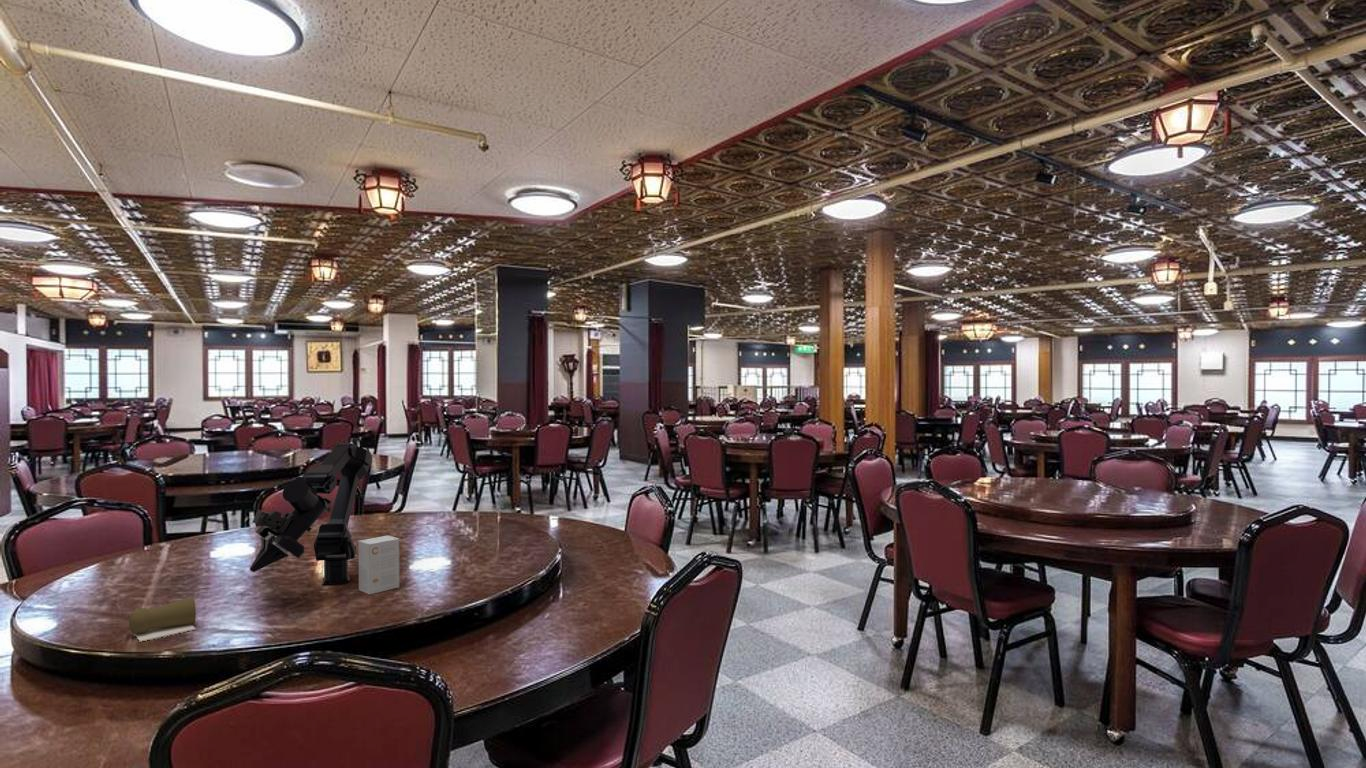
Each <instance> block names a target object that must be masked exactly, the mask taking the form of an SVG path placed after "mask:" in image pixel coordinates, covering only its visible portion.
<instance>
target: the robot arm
mask: <svg viewBox="0 0 1366 768" xmlns="http://www.w3.org/2000/svg"><path fill="white" fill-rule="evenodd" d="M372 463H373V455H372V453H371V452H370V451H369V450H368V449H367V448H363V447H360V446H357V445H356V444H355V443H350V442H341V443H340V442H339V443H336V444H334V445H333V449H332V451H330V453H329V454H328V455H327V456H326V457H325V458H324V460H323V461H322V462H321V463H320V464H319V465H318V466H315V467H312V468H309V469H308V470H306V471H305V472H304V473H302V476H296V477H295V480H293V481H292V482H290V483H288V484H287V485H286V486H285V488H284V489H283V490H282V498H283V499H284V500H285V501H286V502H287V503H288V504H289V505H290V506H291V507H292V508H293V509H292V511H290V512H285V513H283V514H282V512H279V511H275V510H271V511H270V512H268V511H265V510H261V509H257V512H256V514H255V516H254V518H253V520H252V524H255V525H258V526H260V527H258V529H256V531H255V533H257V535H259V536H260V542H261V543H260V544H261V546H260V547H261V548H260V550H259V552H258V553H257V555H256V557H255V558H254V560H253V562H252V564H251V566H250V567H249V570H250V572H252V573H255V572H257V571H259V570H261V569H263V568H265V567H268V566H270V565H271V564H274V563H276V562H278V561H279V560H283V559H284V558H288V557H290V556H289V554H288V553H290V554H291V555H292V556H293V557H295V558H297V559H300V558H301V556H302V555H304V553H305V545H303V544H302V543H300V542H299V541H298V540H299V539H300V538H301V537H302V536H303V535H304V534H305V533H306V532H307V533H310V531H311V530H313V529H312V526H313V524H314V523H315V522H316V521H317V520H318V519H319V518H320V517H321V516H322V515H323V514H324V512H325V511H326V512H327V513H330V517H329V520H328V522H327V523H322V524H320V526H319V527H318V528H319V529H318V531H317V535H316V537H315V539H314V542H313V550H314V555H315V560H316V562H319V561H323V577H322V579H321V580H322V582H321V583H322V584H321V585H322V586H328V585H337V584H344V583H349V582H350V574H349V573H348V571H349V569H348V568H349V564H348V562H349V561H350V560H353V559H356V554H357V552H356V551H357V548H356V545H355V544H354V542H353V540H352V533H351V531H350V528H349V527H348V526H349V522H350V518H351V514H352V510H353V507H354V502H355V497H356V494H357V490H358V488H359V483H360V480H361V479H362V478H363V477H364V476H365V475H367V474H368V473H369V470H370V467H371V465H372ZM339 474H341V478H340V480H339V484H338V480H337V476H338V475H339ZM337 484H338V487H337V491H336V495H335V498H334V502H333V506H332V507H331V504H332V501H331V500H329V499H328V498H326V497H323V496H321V495H330V494H332V493H333V491H334V490H335V488H336V486H337ZM331 509H332V510H331Z"/></svg>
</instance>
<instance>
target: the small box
mask: <svg viewBox="0 0 1366 768" xmlns="http://www.w3.org/2000/svg"><path fill="white" fill-rule="evenodd" d="M357 543H358V544H357V546H358V550H357V551H358V553H357V554H358V591H360V592H363V593H364V594H368V595H373V594H377V593H382V592H385V591H389V590H394V589H399V588H400V539H399V538H398V537H395V536H393V535H383V536H377V537H371V538H367V539H366V538H365V539H361V540H358V542H357Z"/></svg>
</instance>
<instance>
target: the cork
mask: <svg viewBox="0 0 1366 768" xmlns="http://www.w3.org/2000/svg"><path fill="white" fill-rule="evenodd" d="M196 614H197V610H196V602H195V598H194V596H191V597H186V598H184V599H183V598H182V599H180V600H177V601H174V602H170V603H167V604H163V605H160V606H156V607H154V608H146V607H143V608H142V607H141V608H136V609H134V610H133V611H131V612H130V615H129V618H128V627H129V630H130V632H131V633H132V634H133V633H134V634H140V633H144V632H146V631H147V630H149V629H153V628H163V627H173V626H182V625H190V624H192V625H193V626H194V625H195V624H196V617H197V615H196ZM134 634H133V635H134Z"/></svg>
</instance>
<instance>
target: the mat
mask: <svg viewBox="0 0 1366 768" xmlns="http://www.w3.org/2000/svg"><path fill="white" fill-rule="evenodd" d="M192 630H195V631H197V629H196V627H195V626H194V624H193V625H192V624H190V625H182V626H173V627H163V628H153V629H149V630H147V631H146V632H144V633H140V634H133V636H134V637H135V636H136V637H137V638H136V637H135V638H136V640H137V639H138V640H139V641H138V640H137V641H138V642H139V643H140V642H141V643H143V642H142V641H146V642H148V641H147V640H150V641H154V640H153V639H155V640H159V639H162V638H161V637H163V638H168V637H171V636H170V635H172V636H176V635H175V634H177V635H179V634H178V633H181V634H184V633H183V632H186V633H188V632H187V631H190V632H193V631H192ZM167 636H168V637H167ZM158 638H159V639H158Z"/></svg>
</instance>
